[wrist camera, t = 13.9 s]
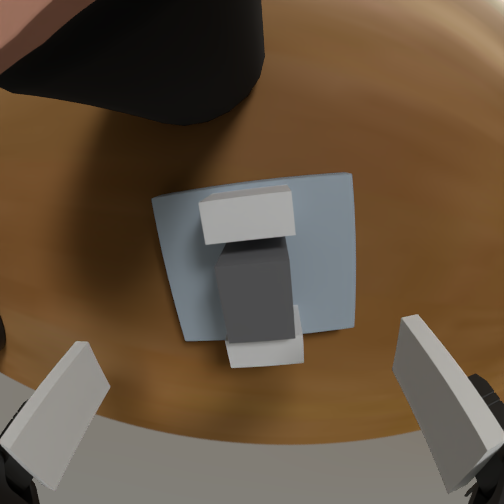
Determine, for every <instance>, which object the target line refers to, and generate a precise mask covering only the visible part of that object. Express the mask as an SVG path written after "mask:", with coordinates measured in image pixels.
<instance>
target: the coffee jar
mask: <svg viewBox="0 0 504 504" xmlns="http://www.w3.org/2000/svg"><path fill="white" fill-rule="evenodd" d="M264 58H265V52H264V36H263V21H262V6H261V0H0V87H1V88H3V89H5V90H7V91H9V92H11V93H15V94H24V95H32V96H39V97H46V98H53V99H59V100H65V101H70V102H76V103H81V104H86V105H91V106H96V107H100V108H105V109H109V110H114V111H118V112H122V113H126V114H130V115H134V116H138V117H142V118H146V119H150V120H153V121H157V122H160V123H166V124H175V125H183V126H186V125H191V124H197V123H203V122H208V121H210V120H212V119H214V118H216V117H218V116H220V115H223V114H225V113H227V112H229V111H230V110H232V109H233V108H234V107H235V106H236V105H237V104H239V103H240V102H241V101H242V100H243V99H244V98H246V97H247V96H248V94H249V93H250V91H251V90H252V88H253V87H254V85H255V84H256V82H257V80H258V79H259V77H260V74H261V70H262V66H263V62H264Z"/></svg>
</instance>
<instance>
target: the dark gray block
mask: <svg viewBox="0 0 504 504" xmlns="http://www.w3.org/2000/svg"><path fill="white" fill-rule="evenodd" d="M214 270H215V275H216V280H217V286H218V291H219V296H220V301H221V306H222V311H223V316H224V321H225V326H226V331H227V335H228V340H229V343H246V342H261V341H274V340H285V339H295V323H294V309H293V296H292V283H291V271H290V260H289V254H288V249H287V244H286V238H285V236H282V237H273V238H263V239H254V240H245V241H236V242H227V243H226V245H225V246H224V248H223V250H222V252H221V254H220V257H219V259H218V261H217V263H216V265H215V267H214Z"/></svg>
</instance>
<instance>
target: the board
mask: <svg viewBox="0 0 504 504" xmlns="http://www.w3.org/2000/svg"><path fill="white" fill-rule="evenodd" d="M151 200H152V205H153V210H154V216H155V221H156V226H157V231H158V235H159V240H160V245H161V249H162V254H163V258H164V262H165V267H166V271H167V275H168V279H169V283H170V287H171V291H172V295H173V299H174V302H175V306H176V310H177V313H178V317H179V321H180V324H181V328H182V331H183V334H184V338H185V341H210V340H225V343H226V348H227V352H228V357H229V361H230V365H231V368H240V367H259V366H273V365H285V364H296V363H304V352H303V334H305V333H314V332H322V331H330V330H338V329H345V328H352V327H354V318H355V289H356V242H355V213H354V195H353V181H352V174H350V173H345V172H342V173H328V174H315V175H304V176H293V177H283V178H274V179H265V180H256V181H248V182H240V183H233V184H226V185H219V186H212V187H205V188H199V189H192V190H186V191H180V192H175V193H169V194H163V195H160V196H157V197H154V198H152V199H151ZM282 236H285V238H286V244H287V249H288V254H289V260H290V271H291V283H292V296H293V309H294V323H295V339H285V340H274V341H261V342H246V343H229V340H228V335H227V331H226V326H225V321H224V316H223V311H222V306H221V301H220V296H219V291H218V286H217V280H216V275H215V270H214V267H215V265H216V263H217V261H218V259H219V257H220V254H221V252H222V250H223V248H224V246H225V245H226V243H227V242H236V241H245V240H254V239H263V238H273V237H282Z"/></svg>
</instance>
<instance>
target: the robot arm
mask: <svg viewBox="0 0 504 504" xmlns="http://www.w3.org/2000/svg"><path fill="white" fill-rule="evenodd" d="M4 345H5V332H4V328H3V324H2V321H1V318H0V350H1V349H2V348H3V347H4ZM392 371H393V372H394V374H395V376H396V378H397V380H398V382H399V384H400V386H401V388H402V390H403V392H404V394H405V396H406V398H407V400H408V403H409V405H410V407H411V409H412V411H413V413H414V415H415V417H416V419H417V422H418V424H419V426H420V428H421V430H422V432H423V435H424V437H425V439H426V441H427V444H428V446H429V448H430V451H431V453H432V455H433V458H434V460H435V463H436V465H437V467H438V470H439V472H440V475H441V477H442V480H443V482H444V485H445V488H446V490H447V493H448V494H449V493H451V492H453V491H455V490H457V489H459V488H461V487H463V486H465V485H467V484H468V483H469V482H470V481H471V480H472V479H473V478H474V477H476V479H477V483H475V484H474V485H473V486H472V487H471V488H470V489H469V490H468V491H467V493H466V494H465V496H466V497H467V496H468V495H469V494H470V493H471V492H472V495H471V498H470V500H469V503H468V504H504V404H503V402H502V401H500V398H499V397H498V396H497V394H496V393H494V390H493V389H492V387H491V386H490V385H489V383H488V382H487V381H486V380H485V379H483V378H482V377H480V376H479V375H477V374H474V375H471V376H469V377H467V376H466V375H465V373H464V372H463V371H462V369H461V368H460V367H459V365H458V364H457V363H456V361H455V360H454V359H453V357H452V356H451V355H450V354H449V352H448V351H447V350H446V348H445V347H444V346H443V345H442V343H441V342H440V341H439V340H438V338H437V337H436V336H435V335H434V333H433V332H432V331H431V330H430V329H429V327H428V326H427V325H426V324H425V322H424V321H423V320H422V319H421V318H420V316H419V315H418V314H417V315H412V316H407V317H403V318H401V323H400V330H399V336H398V342H397V348H396V353H395V358H394V363H393V368H392ZM109 389H110V385H109V383H108V381H107V379H106V377H105V375H104V374H103V372H102V370H101V368H100V366H99V364H98V362H97V360H96V358H95V355H94V353H93V351H92V349H91V347H90V345H89V343H88V342H81V341H76V342H75V343H74V344H73V346H72V347H71V348H70V349H69V350H68V351H67V353H66V354H65V355H64V356H63V357H62V359H61V360H60V361H59V362H58V363H57V365H56V366H55V367H54V368H53V369H52V371H51V372H50V373H49V374H48V376H47V377H46V378H45V379H44V381H43V382H42V383H41V384H40V386H39V387H38V388H37V389H36V391H35V392H34V393H33V395H32V396H31V397H30V398H29V399H28V400H27V401H25V402H24V403H23V404H22V406H21V407H20V408H19V410H18V413H16V414H15V415H14V416H13V419H11V421H10V422H9V423H8V425H7V426H6V428H5V429H4V430H3V432H2V434H1V435H0V504H40V503H39V499H38V494H37V489H36V486H35V483H34V482H33V481H32V479H33V477H34V478H35V479H36V480H37V481H39V482H40V483H41V484H42V485H44V486H46V487H47V488H50V489H51V490H54V491H56V489H57V487H58V485H59V483H60V480H61V478H62V476H63V474H64V472H65V470H66V468H67V466H68V464H69V462H70V460H71V458H72V456H73V454H74V453H75V451H76V449H77V447H78V445H79V443H80V441H81V439H82V437H83V435H84V433H85V432H86V430H87V428H88V426H89V424H90V422H91V421H92V419H93V417H94V415H95V413H96V412H97V410H98V408H99V406H100V404H101V403H102V401H103V399H104V397H105V396H106V394H107V392H108V390H109Z"/></svg>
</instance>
